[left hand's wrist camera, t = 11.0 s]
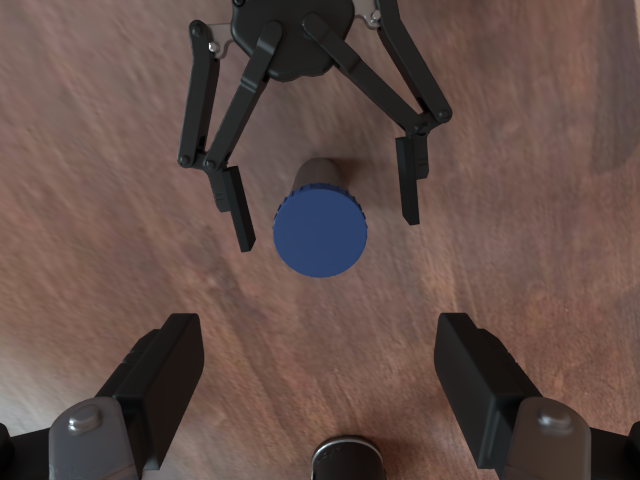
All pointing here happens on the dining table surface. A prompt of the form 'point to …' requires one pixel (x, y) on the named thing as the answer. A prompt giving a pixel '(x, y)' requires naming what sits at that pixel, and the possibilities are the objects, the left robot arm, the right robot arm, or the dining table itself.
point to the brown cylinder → (320, 174)
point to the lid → (319, 230)
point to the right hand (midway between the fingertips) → (328, 233)
